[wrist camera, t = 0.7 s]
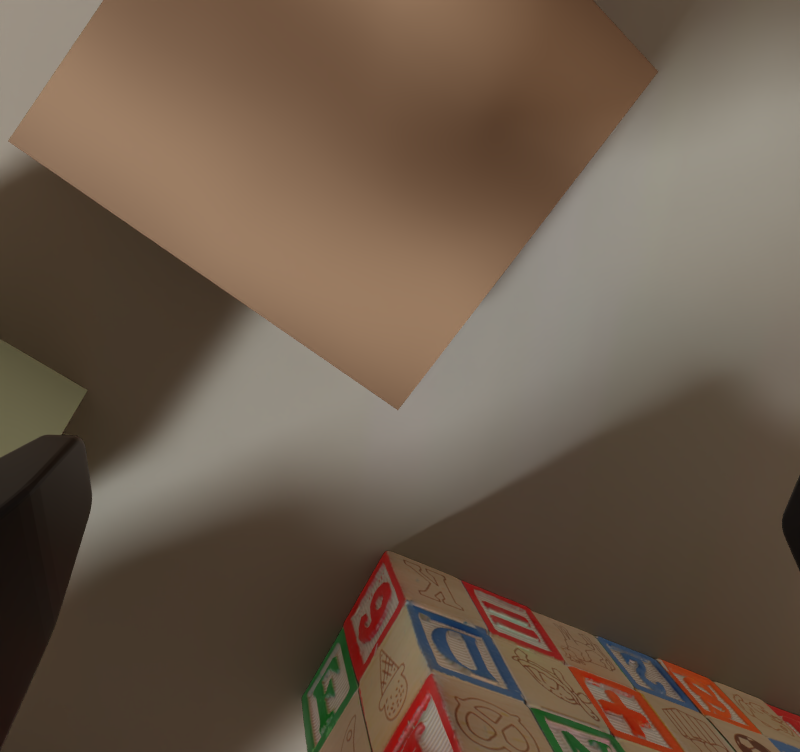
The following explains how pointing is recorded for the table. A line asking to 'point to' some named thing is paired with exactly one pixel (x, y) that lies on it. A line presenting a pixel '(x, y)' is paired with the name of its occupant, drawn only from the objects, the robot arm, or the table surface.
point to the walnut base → (339, 151)
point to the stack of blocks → (510, 682)
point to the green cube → (32, 399)
